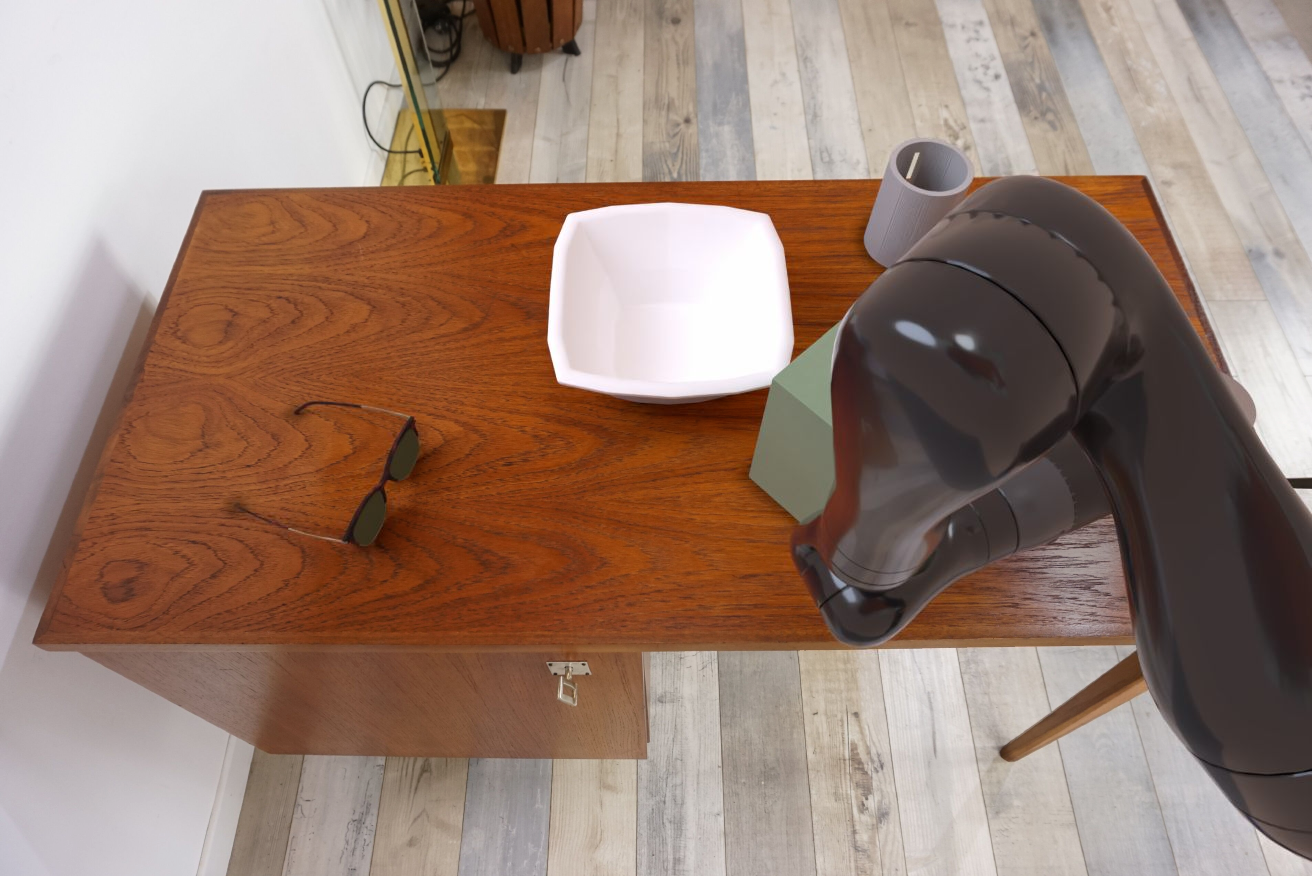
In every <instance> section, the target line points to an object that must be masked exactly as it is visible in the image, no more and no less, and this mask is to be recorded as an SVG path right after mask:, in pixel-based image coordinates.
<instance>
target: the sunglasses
mask: <svg viewBox="0 0 1312 876" xmlns="http://www.w3.org/2000/svg"><path fill="white" fill-rule="evenodd" d="M313 405H325V406H326V405H328V406H339V407H350V408H356V409H365V410H372V411H373V410H374V411H378V412H383V413H388V414H391V415H394V416H395V415H396V416H398V417H401V418H404V419H407V420H406V422H405V423H404V425H403V426H402V427H401V429H400V431H399V433H398V434H397V436H396V438H395V440H394V441H393V443H392V446H391V448H390V450H389V452H388V455H387V458H386V461H385V464H384V468H383V474H382V476H381V478H380V479H379V481H378V483H377V484H376V485H375V486H374V487H372V488H371V489H370V490H369V492H368V493H367V494H366V495H365V496H364V498H363V499H362V500H361V502H360V503H359V505H358V507H357V508H356V510H355V512H354V514H353V515H352V517H351V519H350V521H349V524H348V526H347V528H346V529H345V532H344V535H343V537H342V539H336V538H332V537H323V536H318V535H314V534H310V533H306V532H303V531H299V530H296V529H294V528H291V527H289V526H286V525H283V524H281V523H278V522H276V521H273V520H270V519H268V518H265V517H263V516H260V515H259V514H256V513H254V512H252V511H250V510H248V509H246V508H244V507H242V506H240V505H238V504H236V503H235V504H234V507H236V508H237V509H239V510H241V511H243V512H245V513H247V514H248V515H251V516H253V517H256V518H258V519H260V520H262V521H264V522H267V523H269V524H272V525H274V526H278V527H280V528H283V529H285V530H288V531H292V532H294V533H298V534H301V535H305V536H308V537H312V538H317V539H321V540H326V541H329V542H333V543H340V544H344V545H347V546H348V545H349V544H350V543H351V544H353V545H355V546H356V547H360V546H361V547H367V546H370V545H371V544H372V543H373V542H374V541H375V539H376V538H377V536H378V534H379V533H380V531H381V529H382V527H383V525H384V522H385V519H386V515H387V502H388V498H387V497H388V496H387V494H386V489H385V486H386V484H387V482H388V481H391V482H394V483H398V482H399V481H404V480H405V479H406V478H407V477H408V476H409V475H410V474H411V472H412V470H413V469H414V467H415V465H416V463H417V460H418V457H419V453H420V449H421V448H420V447H421V446H420V441H419V439H418V437H419V432H418V429H417V427H416V421H417V420H416V418H415V416H413V415H407V414H404V413H400V412H395V411H391V410H387V409H383V408H378V407H374V406H368V405H361V404H355V403H347V402H339V401H327V400H325V401H323V400H315V401H307V402H304V403H303V404H302V405H300V406H299V407H298V408H297V409H295V410H294V411H293V414H295V415H298V414H299V413H300V412H301V411H303V410H304V409H305V408H307V407H309V406H313Z"/></svg>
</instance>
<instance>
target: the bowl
mask: <svg viewBox="0 0 1312 876" xmlns="http://www.w3.org/2000/svg"><path fill="white" fill-rule="evenodd" d="M784 247H785V246H784V245H783V242H782V241H781V239H780V236H779V234H778V232H777V230H776V227H775V225H774V223H773V221H772V219H771V217H770V215H769V214H767V213H763V212H757V211H752V210H747V209H741V208H736V207H731V206H726V205H713V204H699V203H697V204H696V203H683V202H655V203H654V202H653V203H638V204H621V205H619V204H618V205H610V206H604V207H599V208H594V209H587V210H582V211H577V212H571V213H569V214H568V215H567V216H566V218H565V221H564V223H563V225H562V227H561V229H560V232H559V234H558V237H557V239H556V242H555V244H554V247H553V257H552V268H551V277H550V278H551V279H550V288H549V289H550V290H549V309H548V326H547V345H548V350H549V354H550V357H551V361H552V364H553V368H554V369H553V370H554V372H555V373H554V374H555V377H556V381H557V383H558V384H559V385H562V386H565V387H571V388H576V389H581V390H585V391H590V392H595V393H599V394H604V395H609V396H611V397H612V398H616V399H620V400H625V401H628V402H629V401H630V402H635V403H643V404H656V405H679V404H694V403H702V402H707V401H712V400H717V399H722V398H725V397H727V396H731V395H733V396H734V395H740V394H745V393H749V392H754V391H757V390H762V389H767V388H770V387H771V383H772V379H773V377H775V376H776V375H777V374H778V373H779V372H781V371H782V370H783V369H784V368H785V367H786V366H788V365H789V364H790V363H791V359H792V355H793V350H794V345H795V335H794V334H795V333H794V324H793V313H792V312H793V311H792V304H791V293H790V286H789V285H790V284H789V278H788V270H787V264H786V257H785V256H786V255H785V248H784Z"/></svg>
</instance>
